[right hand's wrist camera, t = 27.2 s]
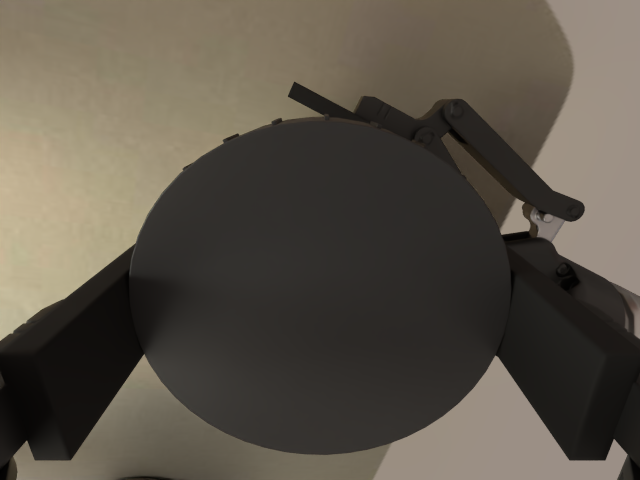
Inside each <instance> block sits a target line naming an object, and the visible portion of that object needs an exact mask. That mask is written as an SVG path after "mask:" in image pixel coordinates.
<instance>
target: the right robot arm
mask: <svg viewBox="0 0 640 480" xmlns="http://www.w3.org/2000/svg"><path fill="white" fill-rule="evenodd" d="M505 246H506V251H507V255H508V260H509V264H510V271H511V289H512V292H511V303H510V311H509V316H508V320H507V324H506V329H505V333H504V336H503V338H502V341H501V343H500V346H499V348H498V351H497V353H496V354H497V356H498V357H499V359H500V360H501V362H502V363H503V364H504V366H505V367H506V369H507V370H508V372H509V373H510V375H511V376H512V378H513V379H514V381H515V382H516V383H517V385H518V386H519V388H520V389H521V391H522V392H523V394H524V395H525V396H526V398H527V399H528V401H529V402H530V404H531V405H532V407H533V408H534V409H535V411H536V412H537V414H538V415H539V417H540V418H541V420H542V421H543V423H544V424H545V425H546V427H547V428H548V430H549V431H550V433H551V434H552V436H553V437H554V439H555V440H556V441H557V443H558V444H559V446H560V447H561V449H562V450H563V452H564V453H565V454H566V456H567V457H568V459H569V460H606V457H607V455H608V452H609V450H610V447H611V445H612V442H613V440H614V439H615V440H616V441H617V443H618V444H619V445H620V446H621V447H622V448H623V449H624V451H625V452H626V453H627V454H628V455H627V458H626V460H625V462H624V465H623V467H622V470H621V472H620V474H619V477H618V479H617V480H640V339H639V338H638V337H636V336H635V335H634V334H632V333H631V332H628V331H627V329H626V328H624V327H623V326H622V325H620V324H619V323H618V322H614V319H612V318H611V317H610V316H608V315H607V314H606V313H604V312H603V311H602V310H601V309H599V308H597V307H595V306H593V305H591V304H589V303H587V302H585V301H583V300H581V299H579V298H574V297H572V296H571V295H570V294H569V293H567V292H566V291H565V290H563V289H562V288H561V287H560V286H558V285H557V284H556V283H554V282H553V281H552V280H551V279H549V278H548V277H547V276H546V275H544V274H543V273H542V272H540V271H539V270H538V269H537V268H535V267H534V266H533V265H531V264H530V263H529V262H528V261H526V260H525V259H524V258H523V257H521V256H520V255H519V254H517V253H516V252H515V251H514V250H512V249H511V248H510V247H509V246H507V245H506V244H505ZM134 248H135V244H134V245H133V246H132V247H130V248H129V249H128V250H127V251H125V252H124V253H123V254H122V255H120V256H119V257H118V258H116V259H115V260H114V261H113V262H111V263H110V264H109V265H107V266H106V267H105V268H104V269H102V270H101V271H100V272H99V273H97V274H96V275H95V276H93V277H92V278H91V279H90V280H88V281H87V282H86V283H85V284H83V285H82V286H81V287H79V288H78V289H77V290H76V291H74V292H73V293H72V294H70V295H69V296H68V297H67V298H65V299H63V300H61V301H58V302H56V303H54V304H52V305H50V306H48V307H46V308H44V309H42V310H41V311H39V312H38V313H37V314H35V315H34V316H33V317H31V318H30V319H29V320H27V323H26V324H22V325H21V326H20V327H18V328H17V329H16V330H14V332H13V334H9V335H8V336H6V337H5V338H4V339H2V340H1V341H0V480H16V478H17V466H16V462H15V460H14V458H13V455H14V454H15V453H16V452H17V451H18V450H19V448H20V447H21V446H22V445H23V444H24V443H25V442H26V440H27V441H28V444H29V446H30V449H31V452H32V454H33V457H34V459H35V460H71V459H72V458H73V456H74V455H75V453H76V452H77V450H78V449H79V448H80V446H81V445H82V443H83V442H84V440H85V439H86V437H87V436H88V435H89V433H90V432H91V430H92V429H93V427H94V426H95V424H96V423H97V421H98V420H99V419H100V417H101V416H102V414H103V413H104V411H105V410H106V408H107V407H108V406H109V404H110V403H111V401H112V400H113V398H114V397H115V395H116V394H117V392H118V391H119V390H120V388H121V387H122V385H123V384H124V382H125V381H126V379H127V378H128V377H129V375H130V374H131V372H132V371H133V369H134V368H135V366H136V365H137V363H138V362H139V361H140V359H141V358H142V356H143V355H144V352H143V350H142V348H141V346H140V343H139V340H138V337H137V334H136V331H135V327H134V323H133V318H132V313H131V308H130V304H129V275H130V266H131V258H132V255H133V251H134Z"/></svg>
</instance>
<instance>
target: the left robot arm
mask: <svg viewBox="0 0 640 480" xmlns="http://www.w3.org/2000/svg"><path fill="white" fill-rule="evenodd" d="M288 97H290V98H292V99H294V100H295V101H297V102H299V103H301V104H303V105H305V106H307V107H309V108H311V109H313V110H314V111H316V112H318V113H320V114H322V115H324V114H328V115H329V118H342V119H348V120H354V121H360V122H364V123H367V124H370V122H371V121H373V122H375V123H378V124H380V125H382V128H383V129H386V130H388V131H390V132H393V133H395V134H397V135H399V136H401V137H403V138H405V139H408V140H410V141H412V139H413V140H416V141H418V142H420V143H423V144H425V145H427V146H428V147H429V148H428V150H429V151H430V152H432V153H433V154H435V155H436V156H438V157H439V158H441V159H442V160H444V161H445V162H447V163H448V164H449V165H450V166H452V167H453V168H454V169H455V170H456V171H457V172H458V173H460V174H461V172H460V171H459V169H458V167H457V166H456V164H455V162H454V161H453V159H452V157H451V156H450V154H449V152H448V150H447V149H446V147H445V145H444V144H443V142H442V140H441V139H440V138H441V137H442V136H444V135H445V134H446V133H447V132H448V133H449V134H450V135H451V136H452V137H453V138H454V139H455V140H456V141H457V142H458V143H459V144H460V145H461V146H462V147H463V148H464V149H465V150H466V151H467V152H468V153H469V154H470V155H471V156H472V157H473V158H474V159H475V160H476V161H478V162H479V163H480V164H481V165H482V166H483V167H484V168H485V169H486V170H487V171H488V172H489V173H490V174H491V175H492V176H493V177H494V178H495V179H496V180H497V181H498V182H499V183H500V184H501V185H502V186H503V187H504V188H505V189H506V190H507V191H508V192H509V193H511V194H512V195H513V196H514V197H516V198H517V199H519V200H521V201H523V202H525V203H524V204H523V206H522V209H523V215H524V217H525V218H526V219H528V220H529V222H530V224H531V227H530V230H529V231H525V232H518V233H511V234H504V235H502V238H503V241H504V243H505V244H506V245H507V246H509V247H510V248H511V249H512V250H514V251H515V252H516V253H517V254H519V255H520V256H521V257H523V258H524V259H525V260H526V261H528V262H529V263H530V264H531V265H533V266H534V267H535V268H537V269H538V270H539V271H540V272H542V273H543V274H544V275H546V276H547V277H548V278H549V279H551V280H552V281H553V282H554V283H556V284H557V285H558V286H560V287H561V288H562V289H563V290H565V291H566V292H567V293H569V294H570V295H571V296H572V297H574V298H579V299H581V300H583V301H585V302H587V303H589V304H591V305H593V306H595V307H597V308H599V309H601V310H602V311H603V312H604V313H606V314H607V315H608V316H610V317H611V318H612V319H614V322H618V323H619V324H620V325H622V326H623V327H624V328H626V329H627V331H628V332H631V333H632V334H634V335H635V336H636V337H638V338H639V339H640V296H638V295H636V294H634V293H632V292H630V291H628V290H626V289H624V288H622V287H620V286H618V285H616V284H614V283H612V282H609V281H608V280H606V279H605V278H603V277H601V276H599V275H597V274H595V273H594V272H592V271H590V270H588V269H586V268H584V267H582V266H580V265H578V264H576V263H574V262H572V261H570V260H568V259H567V258H565V257H563V256H561V255H559V254H558V253H557V251H556V249H555V247H554V245H553V244H552V243H551V242H552V240H553V239H554V237H555V236H556V234H557V232H558V231H559V229H560V228H561V226H562V225H563V223H564V222H565V221H570V222H572V221H576V220H578V219H579V218H580V217H581V216H582V215H583V213H584V211H585V207H584V205H583V203H582V202H580V201H578V200H575V199H573V198H570V197H568V196H565V195H563V194H560V193H558V192H555V191H553V190H552V189H551V188H550V187H549V186H548V185H547V184H546V183H545V182H544V181H543V180H542V179H541V178H540V177H539V176H538V175H537V174H536V173H535V172H534V171H533V170H532V169H531V168H530V167H529V166H528V165H527V164H526V163H525V162H524V161H523V160H522V159H521V158H520V157H519V156H518V155H517V154H516V152H515V151H514V150H513V149H512V148H511V147H510V146H509V145H508V144H507V143H506V142H505V141H504V140H503V139H502V138H501V137H500V136H499V135H498V134H497V133H496V132H495V131H494V130H493V129H492V128H491V127H490V126H489V125H488V124H487V123H486V122H485V121H484V120H483V119H482V118H481V117H480V116H479V115H478V114H477V113H476V112H475V111H474V110H473V109H472V108H471V107H470V106H469V105H468V104H467V103H466V102H465V101H464V100H462V99H442V100H439V101H437V102H436V103H435V104H434V106H433V107H432V109H431V110H430V111H429V112H427V113H426V114H425V115H424V116H423V117H421V118H419V119H414V118H412V117H410V116H408V115H406V114H405V113H403V112H401V111H399V110H397V109H395V108H394V107H392V106H390V105H388V104H386V103H384V102H383V101H381V100H379V99H377V98H375V97H368V96H362V97H361V98H360V100H359V102H358V104H357V106H356V108H355V110H354V112H353V113H352V112H350V111H348V110H347V109H345V108H343V107H341V106H339V105H337V104H335V103H333V102H332V101H330V100H328V99H326V98H324V97H322V96H320V95H318V94H317V93H315V92H313V91H311V90H309V89H307V88H305V87H303V86H302V85H300V84H298V83H296V82H294V83H293V86H292V88H291V90H290V93H289V95H288ZM496 356H497V354H496ZM497 357H498V356H497ZM126 480H158V479H150V478H133V479H126Z"/></svg>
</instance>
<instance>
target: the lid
mask: <svg viewBox="0 0 640 480" xmlns="http://www.w3.org/2000/svg"><path fill="white" fill-rule="evenodd" d="M223 142H224V143H223V144H222V145H220V146H218V147H217V148H215V149H213V150H211V151H210V152H208V153H206V154H205V155H203V156H201V157H200V158H199V159H197V160H196V161H195V162H194V163H192V164H190V165H188V166H186V167H184V168H183V172H181V173H180V174H179V175H178V176H177V177H176V178H175V180H174V181H173V182H172V183H171V184H170V185H169V186H168V187H167V188H166V189H165V190H164V191H163V193H162V194H161V195H160V197H159V198H158V200H157V201H156V203H155V204H154V206H153V207H152V209H151V210H150V212H149V213H148V215H147V217H146V220H145V222H144V224H143V226H142V228H141V230H140V232H139V235H138V237H137V241H136V244H135V248H134V251H133V255H132V258H131V266H130V275H129V304H130V308H131V313H132V318H133V323H134V327H135V331H136V334H137V337H138V340H139V343H140V346H141V348H142V350H143V352H144V354H145V356H146V358H147V360H148V362H149V364H150V365H151V367H152V368H153V370H154V371H155V373H156V374H157V376H158V377H159V379H160V380H161V381H162V383H163V384H164V385H165V386H166V387H167V388H168V389H169V391H170V392H171V393H172V394H173V395H174V396H175V397H176V398H177V399H178V400H179V401H180V402H181V403H182V404H184V405H185V406H186V407H187V408H188V409H189V410H190V411H192V412H193V413H194V414H196V415H197V416H199V417H200V418H201V419H203V420H204V421H206V422H207V423H209V424H210V425H212V426H214V427H216V428H218V429H219V430H221V431H223V432H225V433H227V434H229V435H231V436H234V437H236V438H238V439H241V440H243V441H245V442H249V443H252V444H255V445H258V446H261V447H264V448H269V449H274V450H278V451H283V452H290V453H299V454H317V455H329V454H342V453H351V452H356V451H362V450H368V449H371V448H375V447H379V446H382V445H386V444H389V443H392V442H394V441H397V440H400V439H402V438H405V437H407V436H409V435H411V434H413V433H415V432H417V431H419V430H421V429H423V428H425V427H427V426H428V425H430V424H431V423H433V422H434V421H436V420H438V419H439V418H441V417H442V416H444V415H445V414H446V413H447V412H448V411H450V410H451V409H452V408H453V407H455V406H456V405H457V404H458V403H459V402H460V401H461V400H462V399H463V398H464V397H465V396H466V395H467V394H468V393H469V392H470V391H471V390H472V389H473V388H474V387H475V385H476V384H477V383H478V381H479V380H480V379H481V377H482V376H483V375H484V373H485V372H486V371H487V369H488V367H489V365H490V364H491V362H492V360H493V358H494V357H495V355H496V353H497V351H498V348H499V346H500V343H501V341H502V338H503V336H504V333H505V329H506V324H507V320H508V316H509V311H510V303H511V292H512V289H511V271H510V264H509V260H508V255H507V251H506V246H505V243H504V241H503V238H502V235H501V233H500V230H499V228H498V225H497V223H496V221H495V219H494V217H493V216H492V214H491V212H490V211H489V209H488V207H487V205H486V204H485V202H484V201H483V199H482V198H481V197H480V196H479V194H478V193H477V192H476V191H475V190H474V188H473V187H472V186H471V185H470V183H469V182H468V181H467V180H466V177H465V176H464V175H462V174H460V173H458V172H457V171H456V170H455V169H454V168H453V167H452V166H450V165H449V164H448V163H447V162H445V161H444V160H442V159H441V158H439V157H438V156H436V155H435V154H433V153H432V152H430V151H429V150H428V148H429V147H428V146H427V145H425V144H423V143H420V142H418V141H416V140H413V139H412V141H410V140H408V139H405V138H403V137H401V136H399V135H397V134H395V133H393V132H390V131H388V130H386V129H383V128H382V125H380V124H378V123H375V122H373V121H371V122H370V124H367V123H364V122H360V121H354V120H348V119H342V118H329V115H328V114H324V117H309V118H299V119H290V120H285V121H282V118H279V119H276V120H274V121H272V124H269V125H265V126H262V127H260V128H257V129H255V130H253V131H250V132H248V133H245V134H243V135H240V136H239V134H235V135H233V136H230V137H228V138H226V139H224V140H223Z"/></svg>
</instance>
